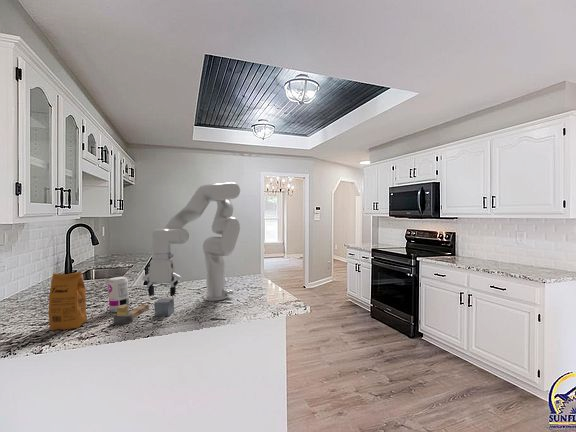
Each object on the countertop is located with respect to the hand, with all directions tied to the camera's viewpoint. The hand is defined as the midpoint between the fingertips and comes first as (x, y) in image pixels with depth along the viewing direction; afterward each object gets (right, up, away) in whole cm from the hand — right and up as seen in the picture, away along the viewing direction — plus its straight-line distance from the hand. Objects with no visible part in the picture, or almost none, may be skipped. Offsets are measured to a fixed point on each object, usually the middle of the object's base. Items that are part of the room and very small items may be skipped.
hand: (162, 295), depth 139 cm
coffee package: (-34, -10, -10) cm, 37 cm away
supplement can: (-24, -9, +9) cm, 27 cm away
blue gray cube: (+1, -8, +1) cm, 8 cm away
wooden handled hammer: (-12, -9, -1) cm, 15 cm away
